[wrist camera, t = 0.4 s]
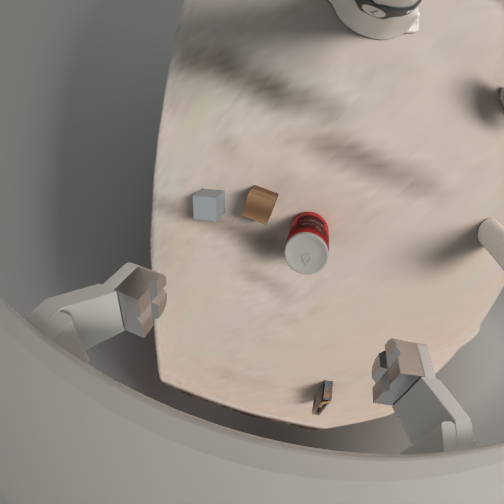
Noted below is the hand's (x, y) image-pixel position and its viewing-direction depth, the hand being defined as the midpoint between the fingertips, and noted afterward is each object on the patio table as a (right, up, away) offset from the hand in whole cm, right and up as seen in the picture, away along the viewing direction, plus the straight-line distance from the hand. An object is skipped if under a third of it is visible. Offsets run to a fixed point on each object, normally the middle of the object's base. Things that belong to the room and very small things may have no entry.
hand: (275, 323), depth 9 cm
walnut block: (+1, +13, +46) cm, 48 cm away
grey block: (-9, +13, +49) cm, 51 cm away
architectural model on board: (+23, -43, +72) cm, 86 cm away
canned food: (+11, +7, +46) cm, 48 cm away
